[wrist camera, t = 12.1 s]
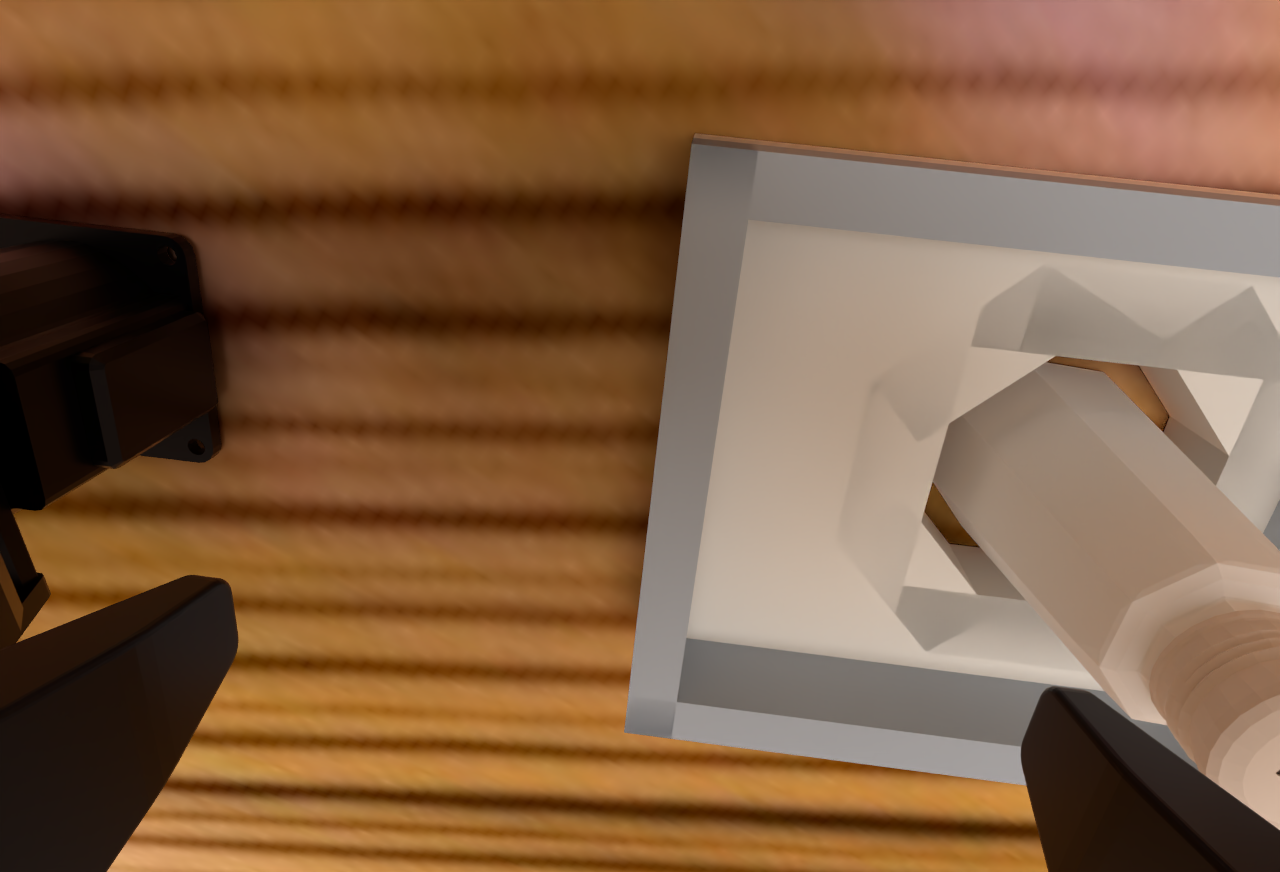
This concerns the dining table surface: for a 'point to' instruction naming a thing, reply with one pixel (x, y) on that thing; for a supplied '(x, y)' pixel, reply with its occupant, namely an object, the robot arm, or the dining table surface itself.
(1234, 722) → the pepper shaker
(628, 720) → the bore box
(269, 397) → the dining table surface
